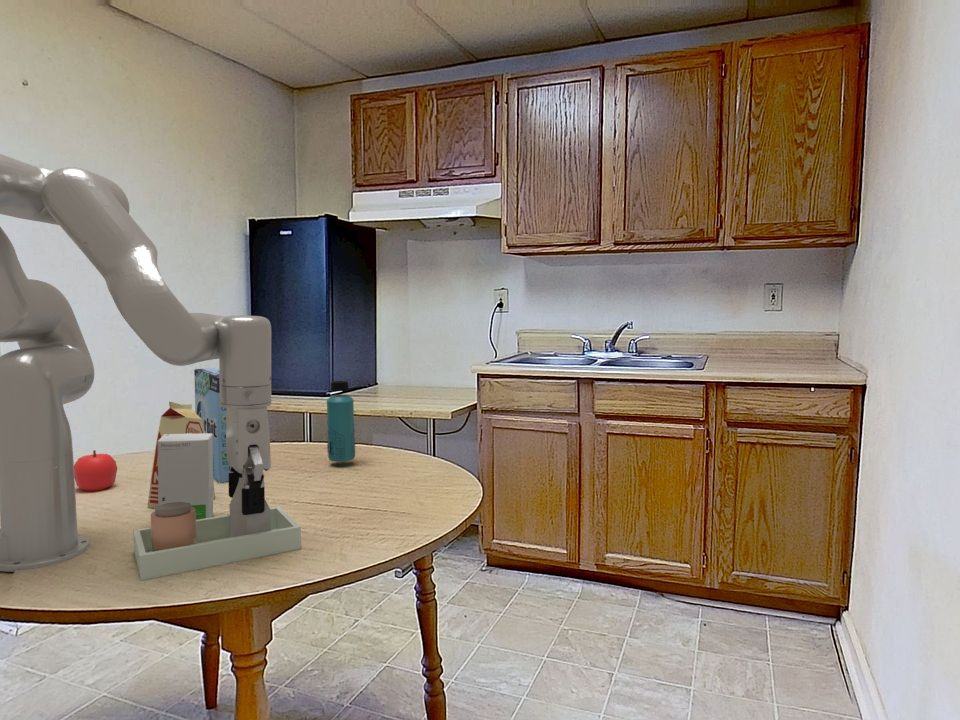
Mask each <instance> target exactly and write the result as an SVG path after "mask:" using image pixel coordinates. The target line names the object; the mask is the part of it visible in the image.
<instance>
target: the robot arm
mask: <svg viewBox="0 0 960 720" xmlns="http://www.w3.org/2000/svg"><path fill="white" fill-rule="evenodd" d="M0 215H3V216H7V217H12V218H18V219H21V220H27V221H33V222H39V223H45V224H49V225H50V224H51V225H56V226H59V227H60V228H61V229H62V230H63V232H65V234H66V235H67V236H68V238H70V239H71V240H72V241H73V243H74V244H75V245H76V246H77V247H78V249H79V250H80V251H81V252H82V253H83V254H84V256H85V257H86V258H87V260H89V262H90V263H91V264H92V265H93V266H94V267H95V269H96V271H98V272H99V274H100V275H101V276H102V278H103V280H104V281H105V283H106V287H107V289H108V292H109V294H110V296H111V298H112V300H113V301H114V302H113V303H114V304H115V306H116V308H117V310H118V311H119V313H120V315H121V317H122V318H123V320H124V321H125V322H126V323H127V324H128V326H129V327H130V328H131V329H132V331H134V332H135V334H136V335H137V336H138V337H139V339H140V340H141V341H142V342H143V343H144V345H146V347H147V348H148V349H149V350H150V351H151V352H152V353H153V354H154V355H155V356H156V357H157V358H159V360H162V361H163V362H165V363H168V364H169V365H173V366H177V367H183V366H190V365H194V364H197V363H200V362H205V361H211V360H219V362H218V363H219V369H218V370H219V384H220V407H224V408H227V414H226V453H227V460H228V462H229V463H230V464H229V472H233V473H229V482H228V496H229V498H230V499H232V497H233V495H234V493H235V490H236V488H237V485H238V482H239V477H240V478H242V477H243V484H244V488H242V514H243V515H251V514H258V513H263V512H264V511H265V500H266V499H265V496H266V495H265V494H266V492H265V490H266V489H265V475H264V473H263V471H265V472H268V471H269V470H270V469H271V467H272V460H271V459H272V458H271V457H272V456H271V438H270V433H271V432H270V421H269V413H268V407H271V406H272V325H271V324H272V323H271V322H270V320H269V319H268V318H267V317H264V316H261V315H227V316H223V315H217V314H211V313H204V312H190V311H188V310H187V309H186V307H185V306H184V305H183V304H182V303H181V301H180V300H179V299H178V298H177V297H176V296H175V294H174V293H173V291H172V290H171V289H170V288H169V286H168V284H166V282H165V281H164V278H163V277H162V275H161V273H160V270H159V268H158V254H159V253H158V249H157V247H156V245H155V243H154V242H153V241H152V240H151V239H150V238H149V236H148V235H147V234H146V232H145V231H144V230H143V229H142V228H141V227H140V225H139V224H138V223H137V222H136V221H135V220H134V218H133V217H132V216H131V214H130V202H129V199H128V197H127V195H126V193H125V191H123V189H122V188H121V187H120V185H118V184H117V183H115V182H114V181H112V180H111V179H108V178H106V177H104V176H103V175H100V174H97V173H94V172H92V171H91V170H87V169H86V168H80V167H77V166H76V167H75V166H74V167H73V166H70V167H69V166H68V167H62V168H61V167H60V168H59V169H51V168H50V169H49V168H45V167H40V166H37V165H33V164H29V163H26V162H24V161H21V160H18V159H15V158H13V157H10V156H8V155H6V154H3V153H0ZM75 315H76V314H75V312H74V310H73V308H72V306H71V304H70V302H69V300H68V299H67V298H66V296H65V295H64V294H63V293H62V292H61V291H60V290H59V289H58V288H57V287H56V286H54V285H53V284H50V283H49V282H45V281H42V280H38V279H33V278H32V279H30V278H28V277H27V275H26V273H25V271H24V269H23V268H22V266H21V263H20V261H19V258H18V255H17V252H16V249H15V247H14V245H13V243H12V241H11V239H10V238H9V236H8V235H7V233H6V232H5V230H4V229H3V228H2V227H1V226H0V343H14V342H17V345H18V346H19V349H15V350H11V351H9V352H7V353H3V354H2V355H0V572H7V573H15V571H16V570H17V571H18V570H28V569H29V570H30V569H36V568H37V569H38V568H42V567H43V568H44V567H48V566H52V565H56V564H60V563H63V562H66V561H69V560H71V559H74V558H77V557H78V556H80V555H82V554H84V553H85V552H86V551H88V550H89V548H90V547H91V541H90V539H89V538H88V537H86V536H84V535H79V534H78V517H77V515H78V514H77V499H76V498H77V496H76V481H75V478H74V465H75V460H74V448H73V437H72V430H71V425H70V422H69V420H68V419H69V418H68V416H67V414H66V412H65V407H64V405H65V404H68V403H72V402H75V401H77V400H79V399H81V398H82V397H84V396H85V395H86V394H87V393H88V392H89V391H90V389H91V388H92V386H93V383H94V379H95V367H94V366H95V365H94V363H93V360H92V356H91V353H90V351H89V348H88V346H87V343H86V341H85V339H84V338H85V337H84V335H83V333H82V330H81V328H80V325H79V323H78V320H77V318H76V316H75Z"/></svg>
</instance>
